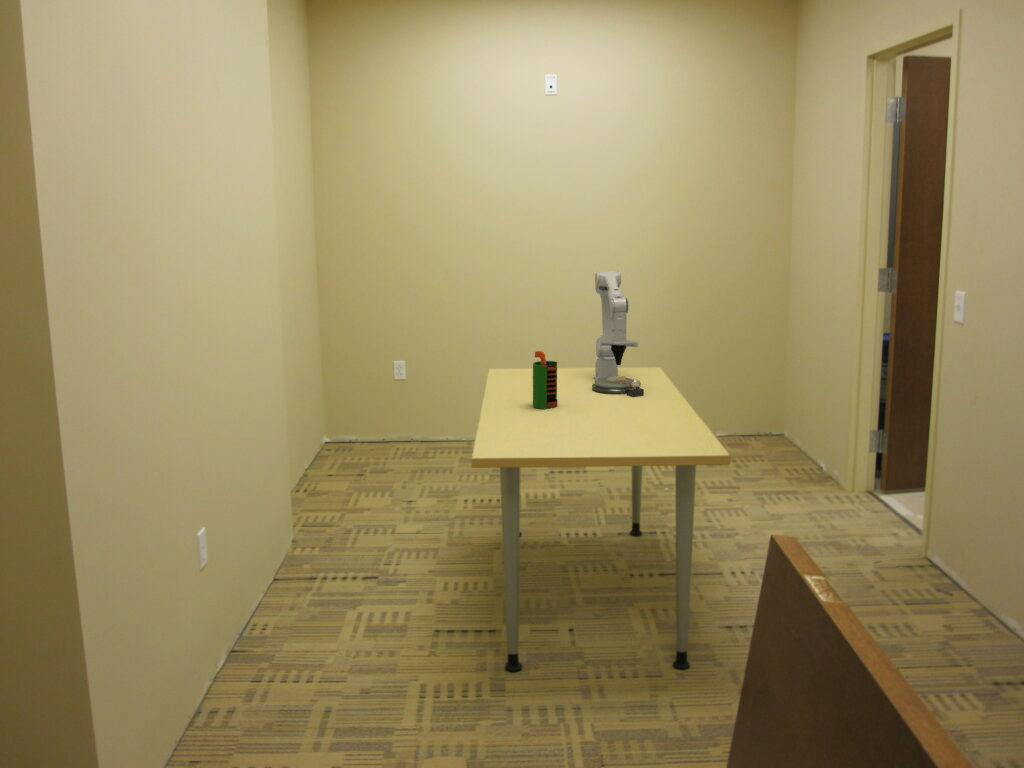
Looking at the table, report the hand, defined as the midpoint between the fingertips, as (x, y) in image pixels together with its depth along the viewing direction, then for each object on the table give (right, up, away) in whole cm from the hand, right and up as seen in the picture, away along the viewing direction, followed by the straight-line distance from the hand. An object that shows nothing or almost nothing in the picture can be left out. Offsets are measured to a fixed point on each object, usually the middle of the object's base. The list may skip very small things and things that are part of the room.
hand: (618, 364), depth 344 cm
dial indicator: (+6, -12, -6) cm, 14 cm away
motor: (-29, -15, -19) cm, 38 cm away
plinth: (-1, -9, +5) cm, 11 cm away
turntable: (-1, -8, +5) cm, 9 cm away
